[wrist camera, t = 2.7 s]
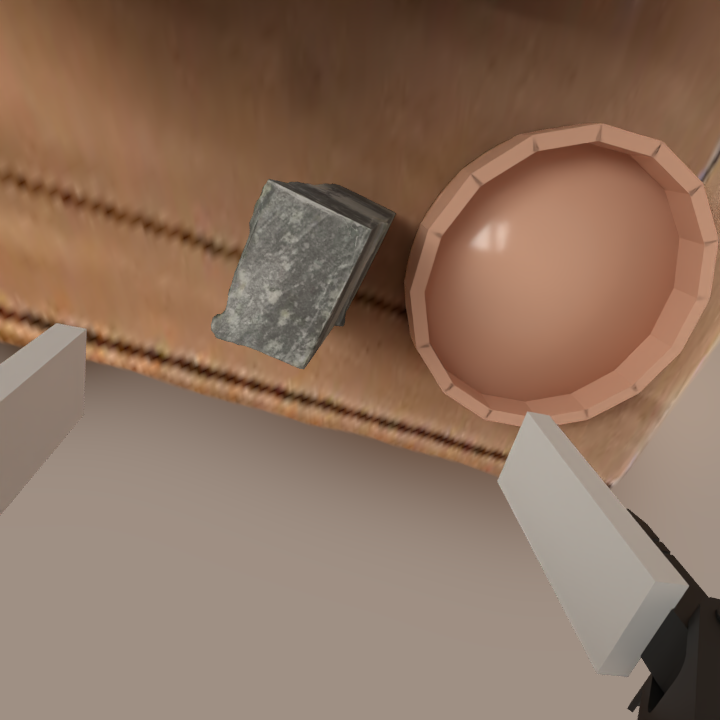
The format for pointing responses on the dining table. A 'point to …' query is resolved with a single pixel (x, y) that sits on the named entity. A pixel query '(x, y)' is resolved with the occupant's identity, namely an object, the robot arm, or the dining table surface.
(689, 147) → the dining table surface
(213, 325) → the stone block
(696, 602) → the robot arm
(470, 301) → the dish
